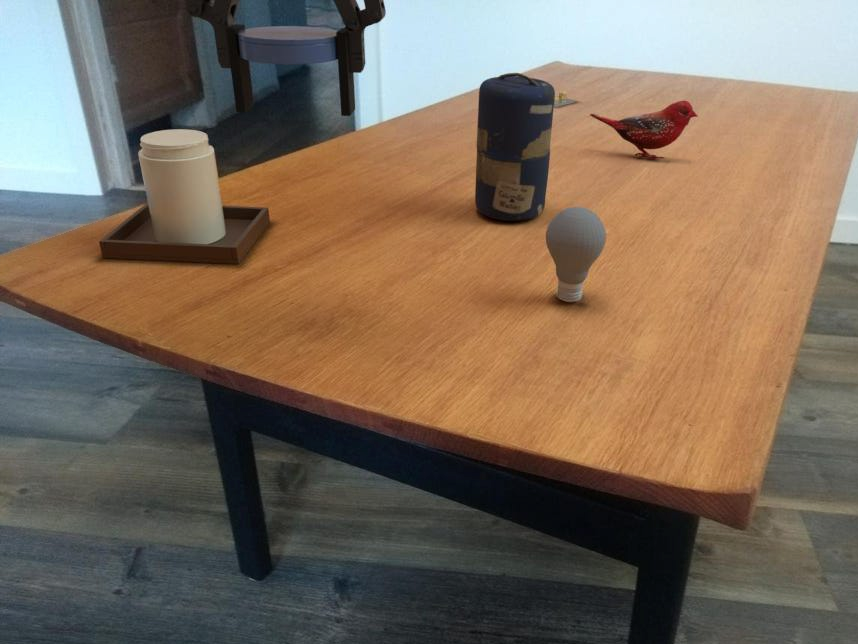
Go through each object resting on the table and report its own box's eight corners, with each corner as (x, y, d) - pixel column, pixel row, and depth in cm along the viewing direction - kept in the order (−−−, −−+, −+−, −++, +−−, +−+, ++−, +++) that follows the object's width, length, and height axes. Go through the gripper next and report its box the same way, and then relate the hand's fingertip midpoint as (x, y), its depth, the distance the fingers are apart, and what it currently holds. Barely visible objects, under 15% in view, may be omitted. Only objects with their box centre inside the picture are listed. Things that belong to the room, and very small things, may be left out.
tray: (102, 258, 83) (98, 241, 82) (150, 217, 95) (147, 202, 94) (238, 264, 83) (236, 247, 82) (270, 222, 95) (268, 207, 94)
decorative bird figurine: (688, 166, 124) (699, 103, 119) (583, 152, 129) (590, 92, 124) (690, 161, 126) (701, 100, 121) (587, 148, 131) (594, 89, 126)
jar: (143, 246, 85) (122, 144, 79) (169, 221, 92) (152, 126, 86) (213, 249, 85) (198, 148, 80) (234, 224, 92) (221, 129, 86)
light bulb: (552, 283, 82) (561, 194, 77) (605, 295, 80) (617, 205, 75) (531, 304, 77) (539, 211, 72) (586, 318, 75) (598, 223, 70)
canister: (510, 197, 107) (518, 63, 98) (559, 215, 101) (572, 75, 92) (459, 210, 101) (463, 70, 92) (508, 231, 95) (517, 83, 86)
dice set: (534, 100, 164) (535, 91, 163) (548, 97, 167) (549, 88, 166) (553, 104, 161) (554, 95, 160) (567, 101, 165) (568, 92, 164)
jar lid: (254, 47, 65) (251, 24, 65) (348, 49, 66) (346, 27, 65) (228, 62, 58) (225, 38, 57) (334, 65, 59) (332, 41, 58)
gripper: (93, -237, 49) (158, 116, 61) (410, -225, 49) (414, 125, 61) (139, -219, 56) (190, 97, 67) (419, -209, 56) (422, 105, 68)
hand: (296, 110), depth 64 cm, fingers closed on jar lid, 8 cm apart
